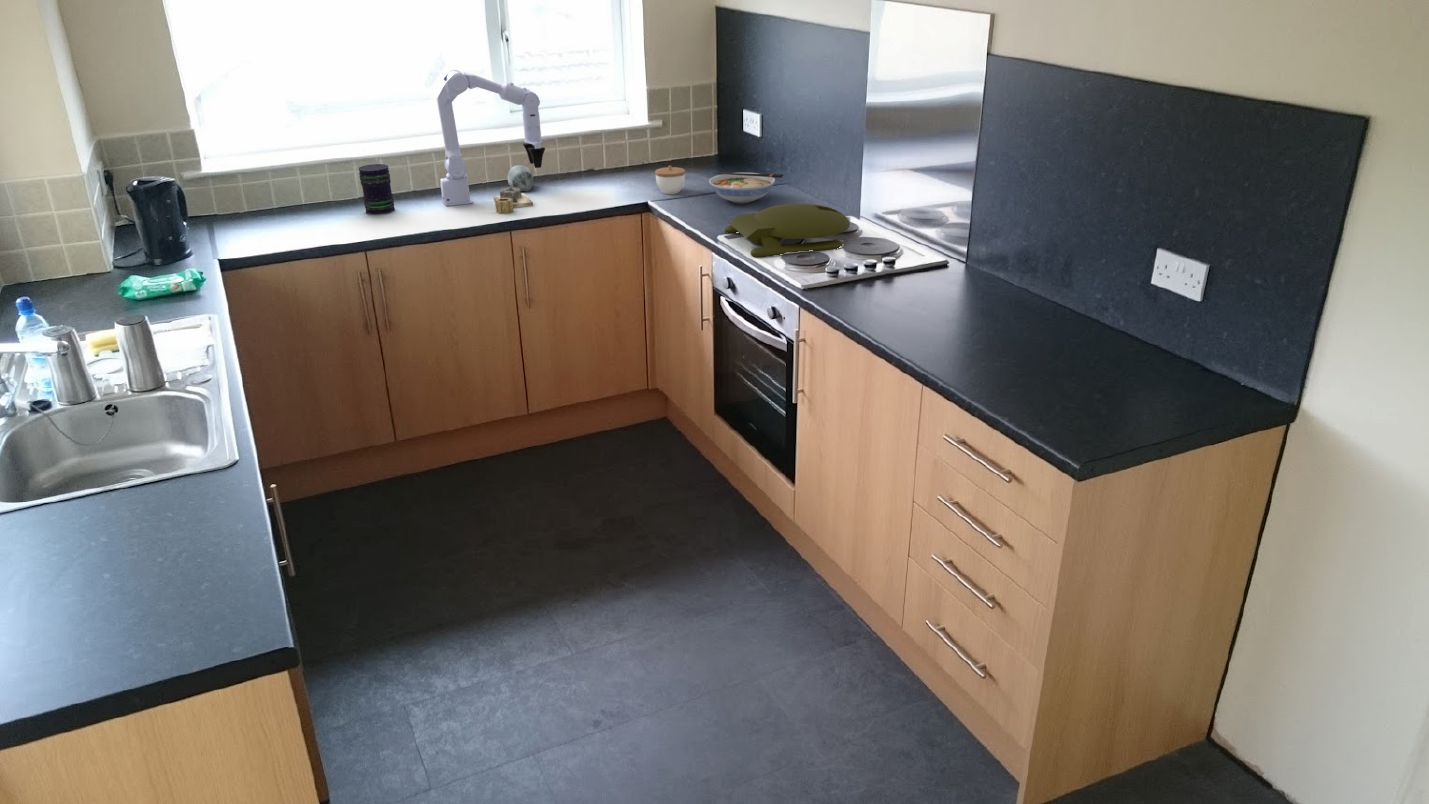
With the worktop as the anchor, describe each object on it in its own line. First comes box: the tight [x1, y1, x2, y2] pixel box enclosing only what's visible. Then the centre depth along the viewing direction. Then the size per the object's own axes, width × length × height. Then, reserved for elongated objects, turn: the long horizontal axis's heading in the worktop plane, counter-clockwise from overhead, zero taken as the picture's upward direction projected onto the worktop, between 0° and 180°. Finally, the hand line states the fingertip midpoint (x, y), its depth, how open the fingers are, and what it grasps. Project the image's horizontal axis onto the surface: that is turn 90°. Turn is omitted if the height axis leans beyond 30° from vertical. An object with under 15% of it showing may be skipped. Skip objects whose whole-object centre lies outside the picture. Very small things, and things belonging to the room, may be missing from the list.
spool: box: [507, 164, 534, 192], centre depth 377 cm, size 14×10×10 cm
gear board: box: [492, 186, 534, 209], centre depth 359 cm, size 11×14×4 cm
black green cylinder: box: [358, 163, 396, 216], centre depth 350 cm, size 10×10×15 cm
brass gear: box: [494, 198, 514, 215], centre depth 349 cm, size 6×6×4 cm
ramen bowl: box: [708, 172, 784, 205], centre depth 354 cm, size 25×23×8 cm
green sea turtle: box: [724, 202, 851, 258], centre depth 313 cm, size 35×31×10 cm
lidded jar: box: [654, 165, 686, 195], centre depth 368 cm, size 11×11×9 cm
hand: (535, 165), depth 367 cm, fingers open, 7 cm apart
